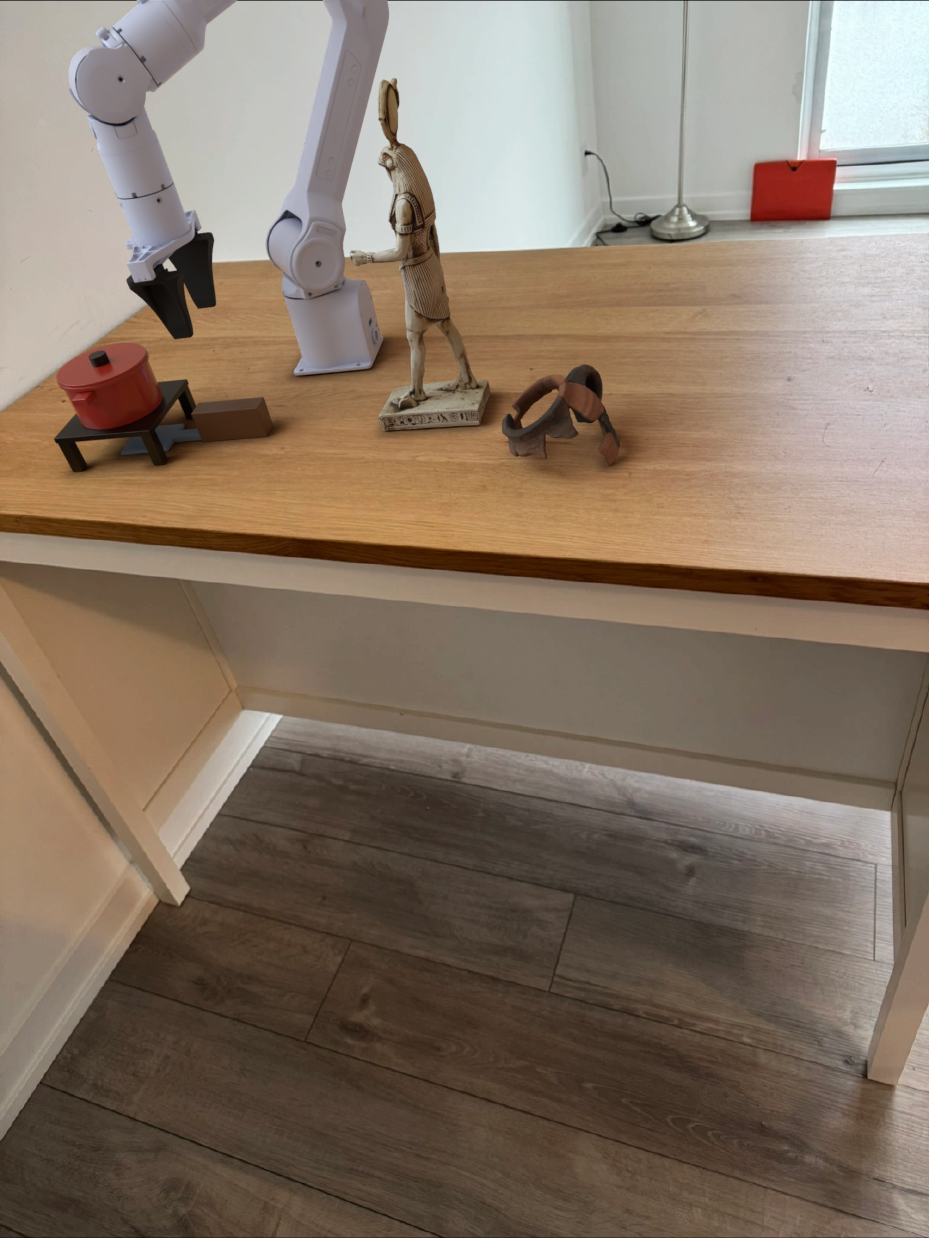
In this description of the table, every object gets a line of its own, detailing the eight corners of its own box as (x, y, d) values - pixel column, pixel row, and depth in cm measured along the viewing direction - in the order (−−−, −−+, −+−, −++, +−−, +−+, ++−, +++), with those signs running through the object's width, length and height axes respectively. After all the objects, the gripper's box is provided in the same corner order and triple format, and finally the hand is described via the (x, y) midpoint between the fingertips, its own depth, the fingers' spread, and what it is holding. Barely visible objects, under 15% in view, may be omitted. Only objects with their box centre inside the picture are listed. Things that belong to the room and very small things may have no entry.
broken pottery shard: (612, 490, 76) (556, 426, 72) (532, 510, 83) (477, 453, 79) (648, 392, 81) (598, 327, 77) (570, 419, 88) (520, 360, 84)
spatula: (277, 418, 96) (267, 390, 93) (263, 443, 92) (253, 414, 90) (140, 430, 99) (128, 403, 97) (121, 455, 95) (108, 427, 93)
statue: (397, 397, 95) (323, 81, 75) (492, 391, 92) (441, 62, 72) (381, 432, 89) (297, 103, 70) (481, 427, 87) (423, 84, 67)
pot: (202, 409, 100) (167, 322, 93) (162, 469, 91) (120, 378, 84) (116, 417, 102) (76, 333, 96) (68, 476, 93) (20, 388, 87)
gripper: (136, 172, 92) (184, 298, 101) (77, 220, 82) (136, 355, 91) (198, 163, 91) (241, 291, 100) (145, 210, 80) (199, 348, 89)
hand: (195, 321), depth 95 cm, fingers open, 7 cm apart
